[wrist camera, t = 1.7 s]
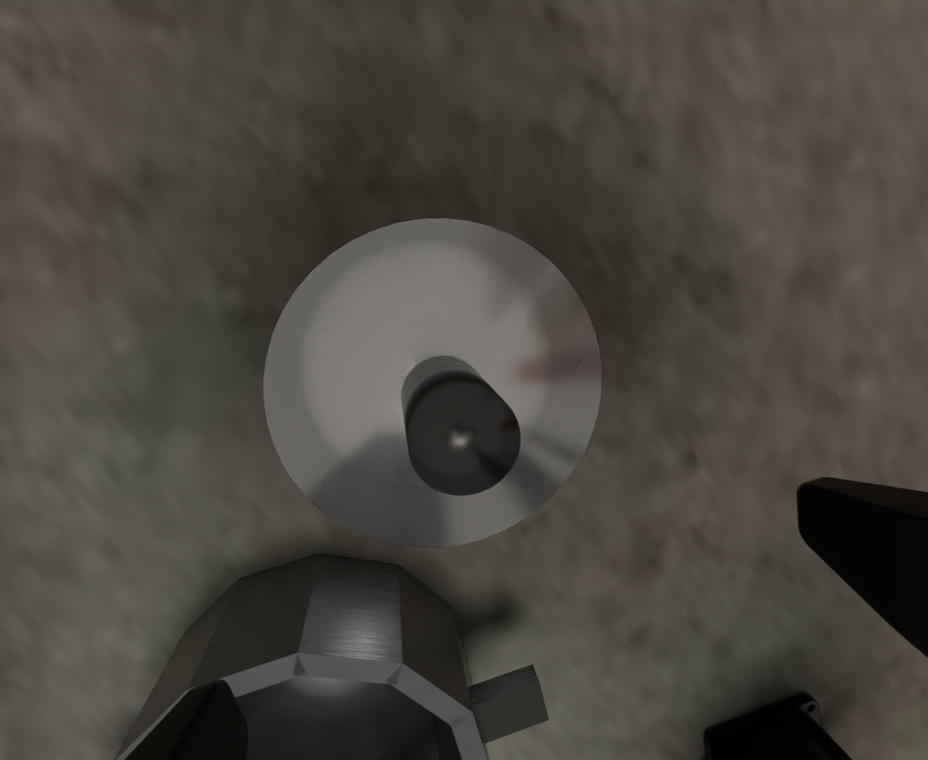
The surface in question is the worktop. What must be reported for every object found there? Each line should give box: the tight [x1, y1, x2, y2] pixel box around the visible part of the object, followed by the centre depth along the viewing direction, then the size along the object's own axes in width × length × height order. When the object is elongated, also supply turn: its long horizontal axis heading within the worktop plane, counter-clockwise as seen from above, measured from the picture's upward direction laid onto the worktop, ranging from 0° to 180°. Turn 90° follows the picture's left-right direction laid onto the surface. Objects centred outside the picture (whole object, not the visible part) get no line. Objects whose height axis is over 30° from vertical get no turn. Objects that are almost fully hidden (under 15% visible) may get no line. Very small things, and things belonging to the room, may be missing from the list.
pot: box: [114, 554, 549, 760], centre depth 17 cm, size 17×12×5 cm
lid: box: [263, 218, 602, 548], centre depth 16 cm, size 13×13×6 cm
